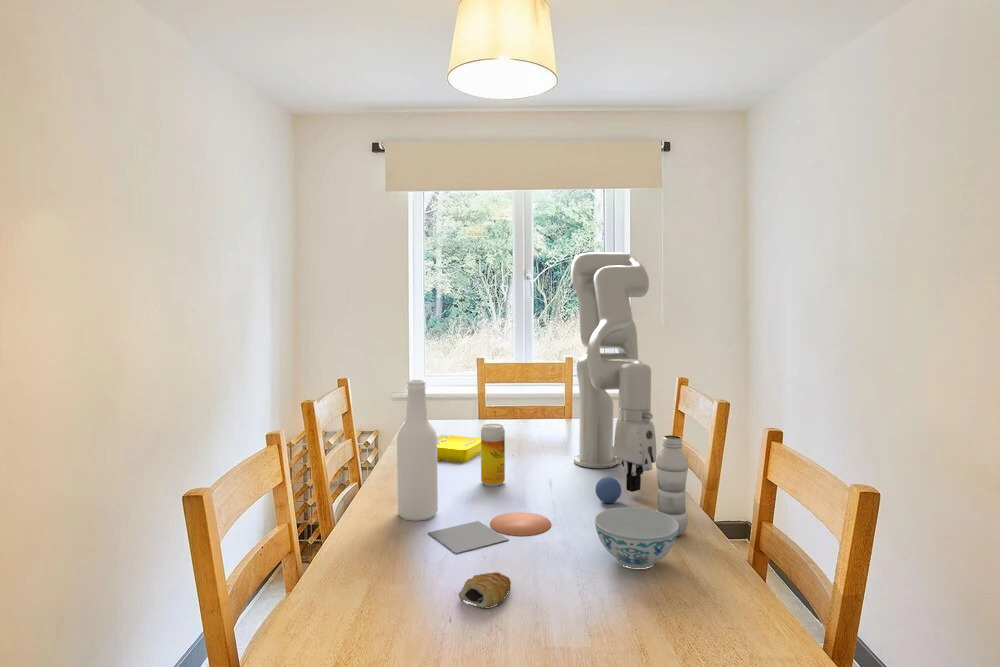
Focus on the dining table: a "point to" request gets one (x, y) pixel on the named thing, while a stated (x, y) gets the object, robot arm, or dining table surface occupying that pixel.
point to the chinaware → (636, 535)
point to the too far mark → (467, 537)
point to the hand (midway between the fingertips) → (633, 490)
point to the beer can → (492, 454)
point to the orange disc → (520, 523)
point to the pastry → (485, 589)
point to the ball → (608, 489)
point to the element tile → (457, 448)
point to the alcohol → (417, 459)
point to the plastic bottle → (672, 481)
